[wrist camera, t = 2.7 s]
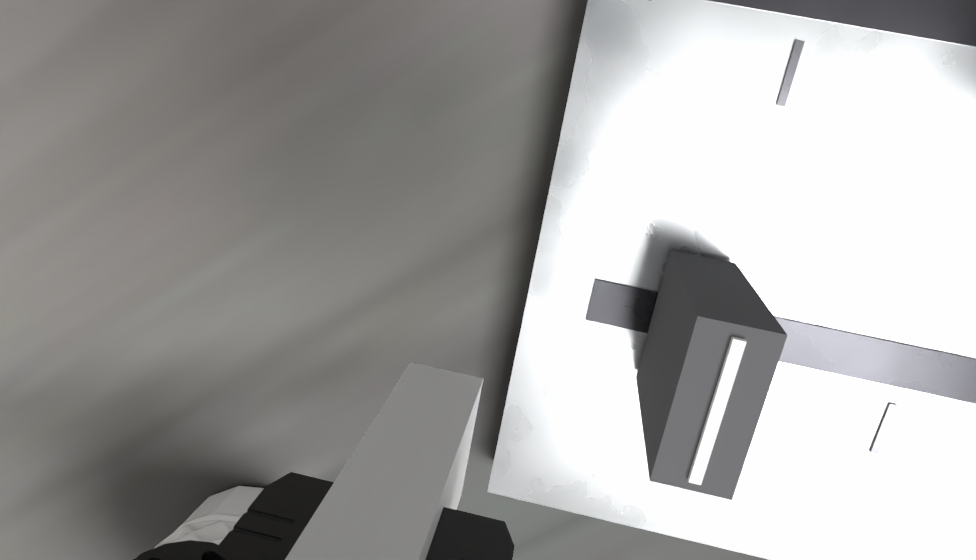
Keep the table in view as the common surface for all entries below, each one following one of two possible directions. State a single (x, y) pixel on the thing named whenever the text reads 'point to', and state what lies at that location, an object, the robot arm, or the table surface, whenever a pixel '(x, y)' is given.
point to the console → (766, 270)
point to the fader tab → (705, 374)
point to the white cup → (215, 516)
